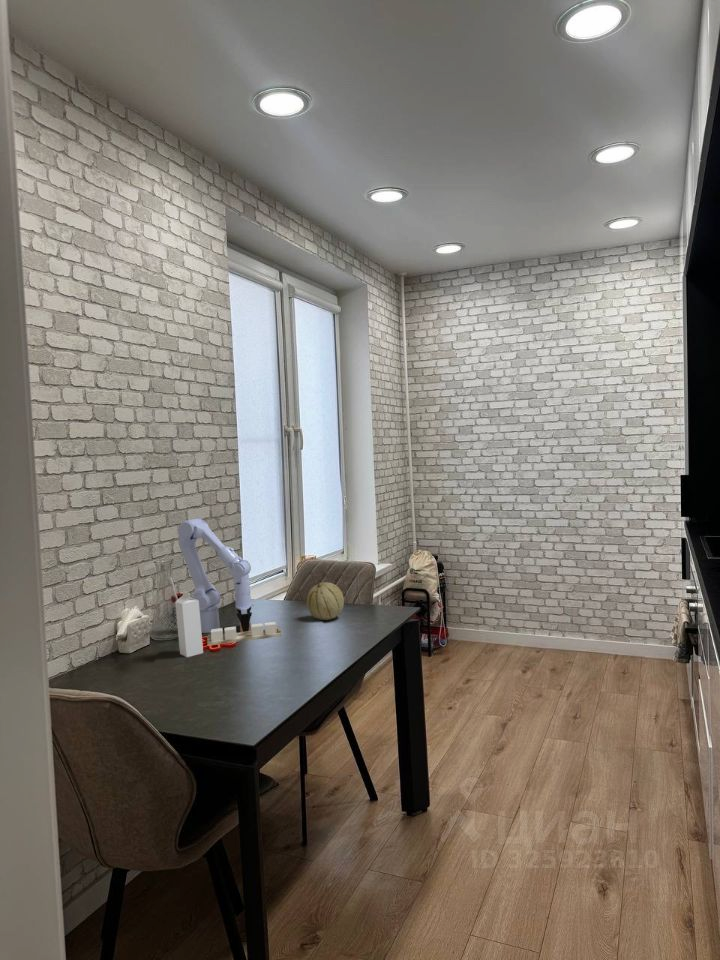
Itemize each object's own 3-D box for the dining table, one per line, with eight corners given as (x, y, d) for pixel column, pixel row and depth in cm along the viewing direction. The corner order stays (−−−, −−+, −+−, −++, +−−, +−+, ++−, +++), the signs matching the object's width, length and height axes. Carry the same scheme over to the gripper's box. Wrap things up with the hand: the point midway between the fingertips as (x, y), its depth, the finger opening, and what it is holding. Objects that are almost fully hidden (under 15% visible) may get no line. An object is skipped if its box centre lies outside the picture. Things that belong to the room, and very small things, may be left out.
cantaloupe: (349, 614, 270) (346, 577, 269) (339, 624, 256) (336, 585, 255) (314, 614, 274) (311, 578, 273) (302, 624, 259) (299, 586, 259)
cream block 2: (225, 641, 241) (224, 630, 241) (225, 638, 245) (224, 627, 245) (236, 640, 242) (235, 629, 242) (236, 637, 246) (235, 626, 245)
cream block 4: (265, 636, 244) (264, 625, 243) (265, 633, 248) (264, 622, 247) (276, 635, 244) (276, 624, 244) (276, 632, 248) (275, 621, 248)
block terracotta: (240, 634, 252) (239, 624, 252) (240, 631, 256) (239, 621, 256) (251, 633, 253) (250, 622, 253) (251, 630, 257) (250, 620, 257)
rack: (207, 647, 238) (207, 640, 238) (208, 641, 246) (208, 634, 246) (281, 638, 242) (280, 631, 242) (279, 632, 251) (279, 625, 251)
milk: (186, 659, 226) (180, 594, 224) (180, 656, 230) (173, 592, 229) (203, 655, 229) (197, 591, 228) (196, 651, 234) (190, 589, 233)
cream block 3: (252, 638, 243) (251, 627, 243) (252, 635, 247) (251, 624, 246) (263, 636, 243) (262, 625, 243) (263, 633, 247) (262, 623, 247)
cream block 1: (211, 643, 240) (210, 632, 240) (212, 640, 244) (211, 629, 244) (223, 641, 241) (222, 630, 241) (223, 638, 245) (222, 628, 245)
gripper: (253, 595, 247) (256, 632, 248) (252, 588, 262) (255, 622, 262) (234, 597, 246) (237, 634, 247) (234, 590, 260) (237, 624, 261)
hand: (245, 628), depth 255 cm, fingers open, 7 cm apart
